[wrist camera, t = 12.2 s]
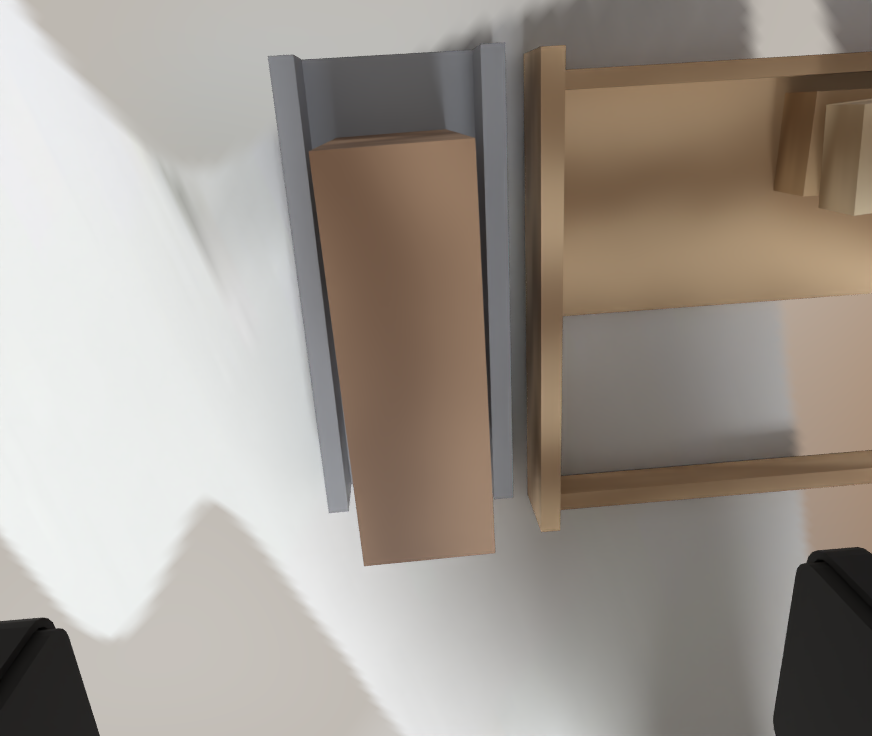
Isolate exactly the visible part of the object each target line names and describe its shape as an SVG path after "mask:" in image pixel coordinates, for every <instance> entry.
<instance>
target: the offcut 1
mask: <svg viewBox="0 0 872 736" xmlns="http://www.w3.org/2000/svg"><path fill="white" fill-rule="evenodd" d="M866 99H872V88H859V89H843V90H826V91H810V92H794V93H785V99H784V107H783V115H782V124H781V132H780V140H779V149H778V157H777V165H776V173H775V182H774V191H778V192H783V193H788V194H793V195H798V196H803V197H804V196H819V193H820V181H821V168H822V155H823V143H824V130H825V117H826V105H829V104H837V103H844V102H851V101H858V100H866Z"/></svg>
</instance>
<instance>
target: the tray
mask: <svg viewBox="0 0 872 736" xmlns="http://www.w3.org/2000/svg"><path fill="white" fill-rule="evenodd" d="M565 66H566V45H560V46H543V47H539V48H537V49H534V50H532V51H530V52H527V53H525V54H524V158H525V268H526V378H527V489H528V497H529V499H530V502H531V505H532V508H533V511H534V513H535V516H536V519H537V522H538V524H539V527H540V530H541V532H548V531H560V510H565V509H577V508H588V507H600V506H612V505H624V504H635V503H647V502H659V501H670V500H682V499H694V498H706V497H717V496H729V495H741V494H752V493H764V492H776V491H787V490H799V489H811V488H822V487H834V486H846V485H857V484H869V483H872V450H867V451H855V452H844V453H831V454H819V455H807V456H795V457H783V458H771V459H759V460H747V461H735V462H723V463H711V464H699V465H687V466H675V467H663V468H651V469H639V470H627V471H615V472H603V473H591V474H579V475H567V476H561V416H562V329H563V316H571V315H585V314H599V313H612V312H626V311H639V310H653V309H666V308H680V307H693V306H707V305H720V304H734V303H747V302H761V301H775V300H788V299H801V298H815V297H828V296H842V295H854V294H855V295H856V294H869V293H872V213H870V214H863V215H856V216H853V215H848V214H844V213H839V212H835V211H830V210H826V209H821V208H818V206H819V196H804V197H803V196H798V195H793V194H788V193H783V192H778V191H774V182H775V173H776V165H777V157H778V149H779V140H780V132H781V124H782V115H783V107H784V99H785V93H794V92H810V91H826V90H843V89H859V88H872V52H856V53H839V54H822V55H806V56H791V57H773V58H755V59H738V60H721V61H704V62H687V63H670V64H654V65H637V66H620V67H603V68H586V69H569V70H565Z"/></svg>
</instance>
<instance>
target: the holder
mask: <svg viewBox="0 0 872 736" xmlns="http://www.w3.org/2000/svg"><path fill="white" fill-rule="evenodd" d="M268 61H269V68H270V76H271V83H272V91H273V98H274V105H275V113H276V121H277V128H278V136H279V143H280V151H281V158H282V166H283V173H284V181H285V188H286V196H287V203H288V211H289V218H290V225H291V233H292V240H293V248H294V255H295V263H296V270H297V278H298V285H299V293H300V300H301V308H302V315H303V323H304V330H305V338H306V345H307V353H308V360H309V367H310V375H311V382H312V390H313V397H314V405H315V412H316V420H317V427H318V435H319V442H320V450H321V457H322V465H323V472H324V480H325V487H326V495H327V502H328V509H329V513H335V512H347V511H349V502H350V493H351V484H353V479H352V472H351V464H350V457H349V449H348V442H347V434H346V427H345V420H344V412H343V405H342V397H341V390H340V382H339V375H338V367H337V360H336V352H335V345H334V338H333V330H332V323H331V315H330V308H329V300H328V293H327V285H326V278H325V270H324V263H323V256H322V248H321V241H320V233H319V226H318V218H317V211H316V203H315V196H314V188H313V181H312V174H311V166H310V159H309V151H310V150H312V149H314V148H316V147H318V146H320V145H323V144H325V143H327V142H329V141H331V140H333V139H335V138H340V137H353V136H365V135H378V134H391V133H404V132H416V131H429V130H442V129H447V130H450V131H454V132H457V133H460V134H464V135H467V136H470V137H473V138H475V143H476V164H477V184H478V205H479V226H480V246H481V267H482V288H483V309H484V329H485V350H486V371H487V391H488V412H489V433H490V453H491V474H492V493H493V497H494V499H501V498H513V449H512V393H511V337H510V281H509V225H508V169H507V113H506V58H505V43H488V44H480V45H478V46H477V47H476V48H474V49H473V50H462V51H444V52H427V53H410V54H392V55H375V56H358V57H342V58H341V57H340V58H323V59H306V60H301V59H300V58H298V57H296V56H295V55H279V56H268Z"/></svg>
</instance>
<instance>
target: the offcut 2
mask: <svg viewBox="0 0 872 736" xmlns="http://www.w3.org/2000/svg"><path fill="white" fill-rule="evenodd" d="M818 208H821V209H826V210H830V211H835V212H839V213H844V214H848V215H853V216H856V215H863V214H870V213H872V99H866V100H858V101H851V102H844V103H837V104H829V105H826V117H825V130H824V143H823V155H822V168H821V181H820V193H819V206H818Z"/></svg>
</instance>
